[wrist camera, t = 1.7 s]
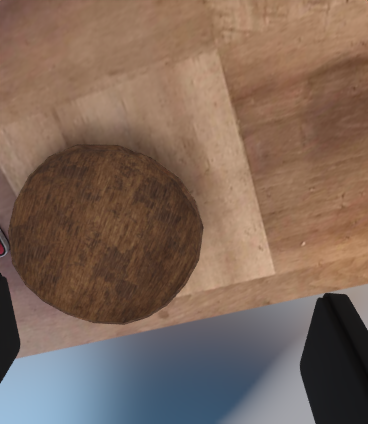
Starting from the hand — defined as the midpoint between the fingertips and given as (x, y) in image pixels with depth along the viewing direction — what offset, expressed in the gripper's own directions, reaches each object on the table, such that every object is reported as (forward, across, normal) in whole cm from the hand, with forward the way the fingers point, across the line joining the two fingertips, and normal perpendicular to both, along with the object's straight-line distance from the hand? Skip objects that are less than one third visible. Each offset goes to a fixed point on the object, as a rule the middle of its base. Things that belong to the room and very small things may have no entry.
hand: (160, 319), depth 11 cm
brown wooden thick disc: (+28, +8, +12) cm, 32 cm away
